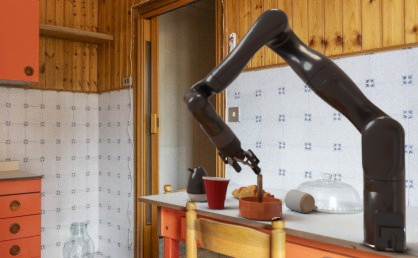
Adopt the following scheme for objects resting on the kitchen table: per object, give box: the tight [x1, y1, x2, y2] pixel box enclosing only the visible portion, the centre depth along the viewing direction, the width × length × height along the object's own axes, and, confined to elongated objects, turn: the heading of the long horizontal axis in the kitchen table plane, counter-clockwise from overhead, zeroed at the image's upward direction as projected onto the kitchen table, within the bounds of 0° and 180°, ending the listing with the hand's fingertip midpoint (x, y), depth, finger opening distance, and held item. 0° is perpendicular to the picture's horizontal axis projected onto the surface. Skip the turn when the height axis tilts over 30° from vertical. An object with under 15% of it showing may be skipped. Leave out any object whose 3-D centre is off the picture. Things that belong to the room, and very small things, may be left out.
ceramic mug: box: [284, 189, 318, 214], centre depth 148 cm, size 11×8×8 cm
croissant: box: [231, 184, 275, 200], centre depth 174 cm, size 21×10×8 cm, turn 40°
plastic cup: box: [203, 176, 231, 210], centre depth 156 cm, size 11×11×12 cm
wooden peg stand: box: [256, 173, 264, 203], centre depth 139 cm, size 5×5×14 cm
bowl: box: [238, 196, 283, 222], centre depth 139 cm, size 14×14×6 cm
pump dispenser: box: [185, 165, 209, 203], centre depth 172 cm, size 10×10×15 cm
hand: (249, 172), depth 137 cm, fingers open, 8 cm apart
